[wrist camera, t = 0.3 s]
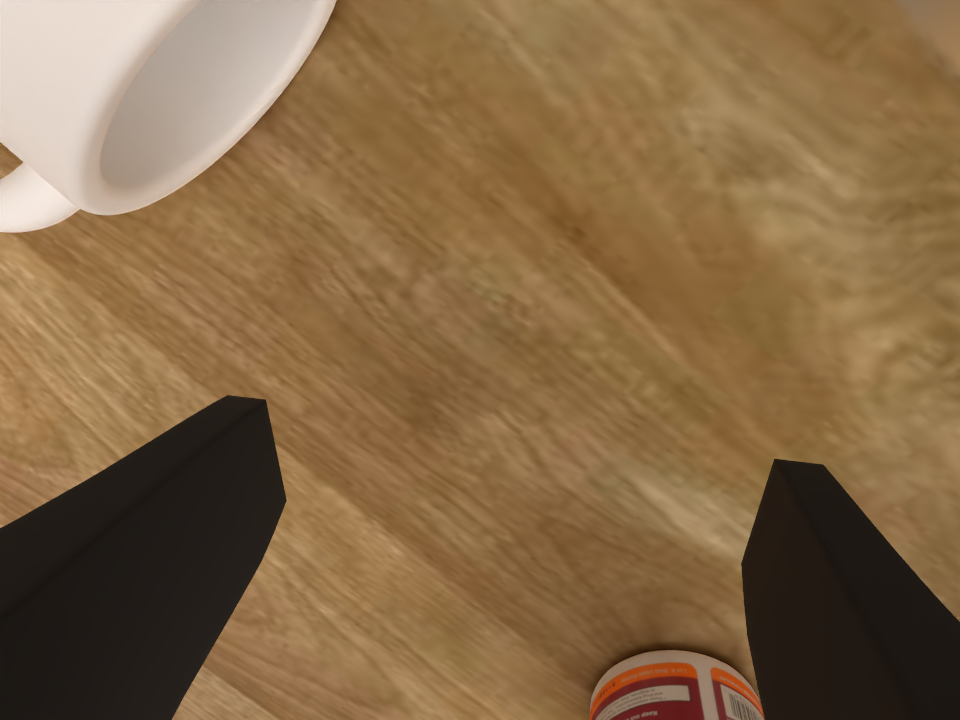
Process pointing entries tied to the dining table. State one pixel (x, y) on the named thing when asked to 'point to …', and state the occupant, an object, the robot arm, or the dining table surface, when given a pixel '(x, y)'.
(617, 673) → the pill bottle
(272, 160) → the dining table surface
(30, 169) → the mug
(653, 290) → the dining table surface
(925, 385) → the dining table surface
